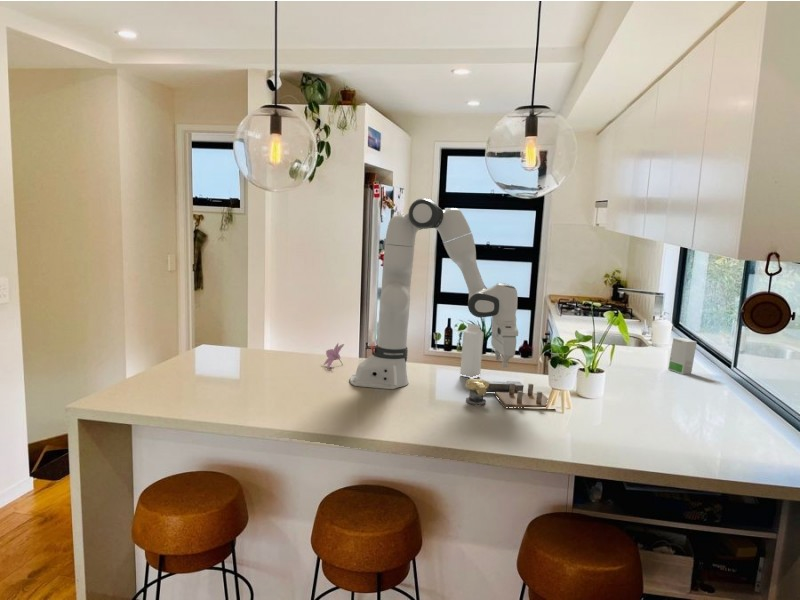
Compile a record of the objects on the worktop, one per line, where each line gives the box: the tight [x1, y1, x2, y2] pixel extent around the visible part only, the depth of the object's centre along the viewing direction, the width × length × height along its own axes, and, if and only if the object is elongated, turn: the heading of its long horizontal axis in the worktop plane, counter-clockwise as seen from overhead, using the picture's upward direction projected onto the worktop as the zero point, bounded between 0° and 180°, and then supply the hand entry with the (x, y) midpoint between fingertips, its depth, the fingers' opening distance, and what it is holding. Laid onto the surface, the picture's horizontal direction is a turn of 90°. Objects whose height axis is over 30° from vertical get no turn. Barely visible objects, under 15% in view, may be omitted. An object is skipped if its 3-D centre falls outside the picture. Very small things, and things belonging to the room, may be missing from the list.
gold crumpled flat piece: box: [465, 378, 489, 396], centre depth 198 cm, size 12×8×2 cm, turn 5°
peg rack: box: [494, 383, 549, 409], centre depth 204 cm, size 18×14×6 cm
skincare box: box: [667, 337, 698, 375], centre depth 265 cm, size 8×7×16 cm
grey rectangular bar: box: [486, 380, 524, 393], centre depth 214 cm, size 19×5×4 cm, turn 95°
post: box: [465, 389, 487, 406], centre depth 201 cm, size 7×7×5 cm
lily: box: [323, 342, 345, 370], centre depth 238 cm, size 12×12×10 cm
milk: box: [459, 323, 484, 377], centre depth 233 cm, size 6×6×22 cm
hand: (501, 363), depth 212 cm, fingers open, 8 cm apart
